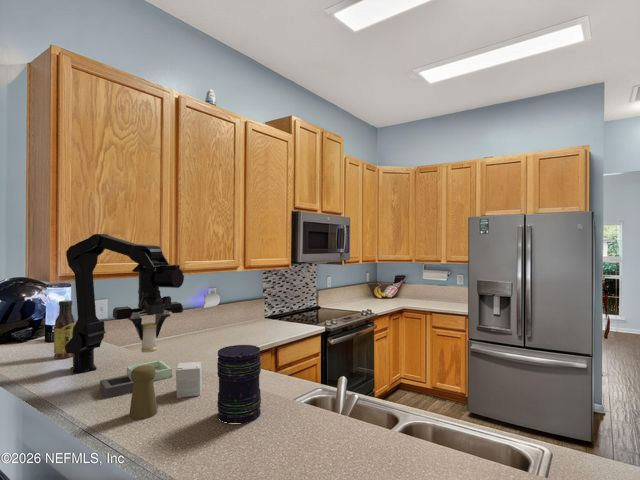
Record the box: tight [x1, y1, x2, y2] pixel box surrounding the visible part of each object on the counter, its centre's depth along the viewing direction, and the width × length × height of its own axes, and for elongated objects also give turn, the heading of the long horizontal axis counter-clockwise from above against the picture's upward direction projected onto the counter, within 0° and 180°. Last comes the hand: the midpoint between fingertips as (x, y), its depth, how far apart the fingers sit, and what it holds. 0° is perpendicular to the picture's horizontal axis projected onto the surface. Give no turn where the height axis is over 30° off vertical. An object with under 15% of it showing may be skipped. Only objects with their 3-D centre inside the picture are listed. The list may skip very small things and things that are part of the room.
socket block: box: [99, 374, 134, 399], centre depth 105 cm, size 8×8×2 cm
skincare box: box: [175, 361, 203, 399], centre depth 103 cm, size 6×6×7 cm
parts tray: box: [126, 359, 173, 382], centre depth 116 cm, size 11×10×2 cm
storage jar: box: [216, 344, 262, 424], centre depth 89 cm, size 10×10×15 cm
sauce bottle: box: [53, 299, 76, 360], centre depth 138 cm, size 7×6×20 cm
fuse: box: [140, 322, 158, 353], centre depth 117 cm, size 4×4×8 cm
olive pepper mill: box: [128, 365, 158, 421], centre depth 90 cm, size 6×6×11 cm
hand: (148, 338), depth 117 cm, fingers closed on fuse, 4 cm apart
